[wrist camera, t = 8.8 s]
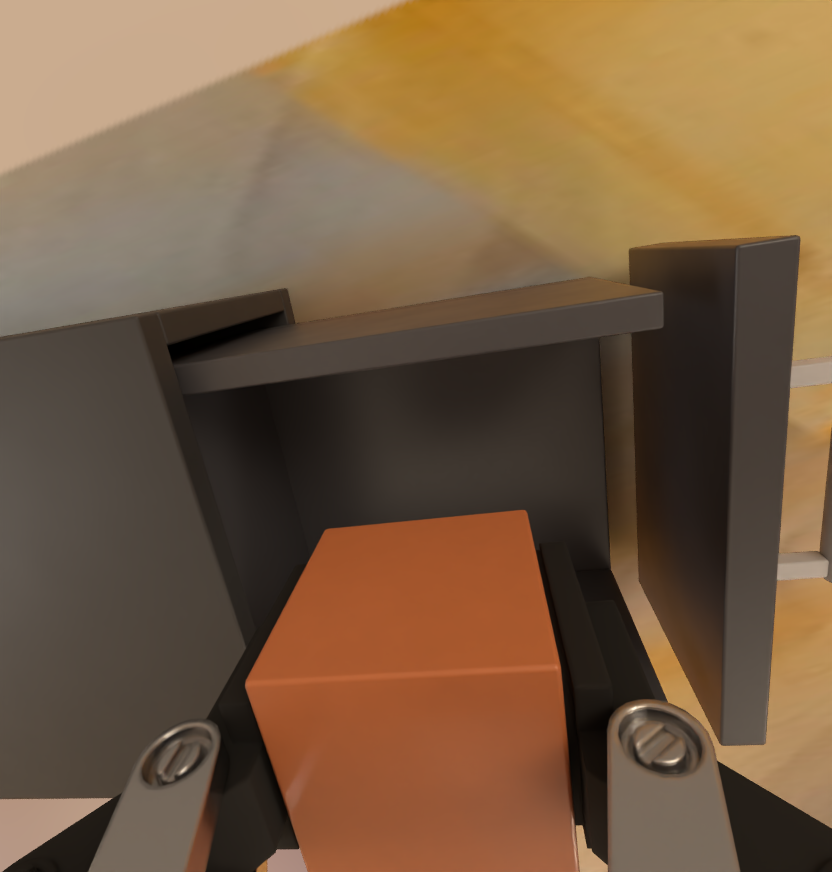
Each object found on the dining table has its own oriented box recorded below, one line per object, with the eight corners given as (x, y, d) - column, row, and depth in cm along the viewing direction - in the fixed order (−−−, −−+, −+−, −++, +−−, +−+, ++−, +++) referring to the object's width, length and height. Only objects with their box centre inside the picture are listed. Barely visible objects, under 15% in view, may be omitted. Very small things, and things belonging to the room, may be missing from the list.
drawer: (801, 219, 17) (1054, 193, 9) (777, 571, 21) (939, 742, 14) (239, 312, 20) (100, 347, 12) (316, 603, 24) (246, 757, 17)
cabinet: (287, 287, 20) (136, 315, 11) (360, 599, 25) (294, 797, 16) (-67, 348, 23) (-422, 410, 14) (58, 621, 27) (-148, 801, 18)
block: (527, 507, 11) (561, 667, 7) (544, 674, 12) (582, 892, 8) (324, 527, 11) (240, 684, 7) (363, 684, 13) (312, 889, 9)
